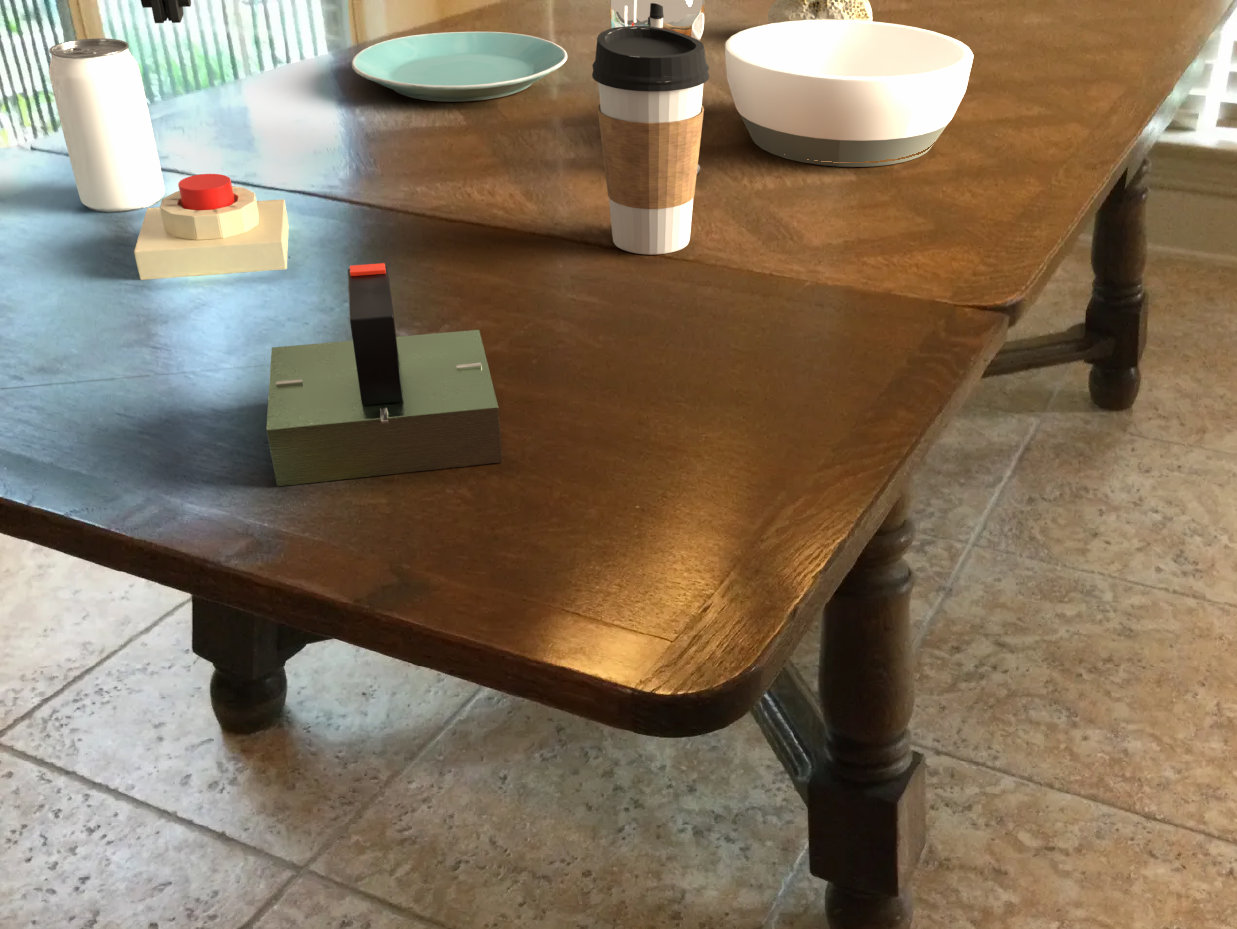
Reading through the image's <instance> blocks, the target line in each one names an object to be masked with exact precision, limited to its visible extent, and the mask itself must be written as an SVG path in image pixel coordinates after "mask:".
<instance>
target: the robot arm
mask: <svg viewBox="0 0 1237 929" xmlns="http://www.w3.org/2000/svg"><path fill="white" fill-rule="evenodd" d="M140 3H141V6H142V8H143V9H147V8H150V9H151V13H152V18H153V21H154V24H164V23H165V22H167V20H168V22H171V23H172V24H181V22H182V20H183V17H184V8H185V7H186V8H188V7H189V8H190V7H191V6H192V0H140Z"/></svg>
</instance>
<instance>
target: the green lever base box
mask: <svg viewBox="0 0 1237 929" xmlns="http://www.w3.org/2000/svg"><path fill="white" fill-rule="evenodd" d="M396 339H397V347H398V356H399V365H400V373H401V382H402V391H403V401H402V402H392V403H381V404H371V405H362V403H361V396H360V388H359V381H358V374H357V367H356V360H355V353H354V346H353V340H343V341H332V342H331V341H330V342H319V343H308V344H296V345H285V346H284V345H283V346H275V347H274V346H273V347H271V350H270V351H271V352H270V353H271V354H270V366H269V367H270V368H269V383H268V399H267V413H266V414H267V415H266V428H265V429H266V430H265V431H266V434H267V436H266V437H267V441H268V447H269V451H270V457H271V462H272V468H273V472H274V478H275V483H276V486H277V487H286V486H296V485H305V484H314V483H323V482H334V481H342V480H343V481H344V480H351V479H359V478H361V479H362V478H371V477H378V476H389V475H398V474H407V473H416V472H426V471H435V470H444V469H454V468H463V467H473V466H482V465H492V464H499V463H503V450H502V437H501V425H500V413H499V404H498V400H497V395H496V391H495V388H494V384H493V380H492V376H491V372H490V367H489V363H488V359H487V355H486V352H485V347H484V342H483V338H482V335H481V331H480V329H471V330H460V331H449V332H438V333H437V332H436V333H426V334H424V333H423V334H413V335H402V336H396Z"/></svg>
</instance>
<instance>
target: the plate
mask: <svg viewBox="0 0 1237 929" xmlns="http://www.w3.org/2000/svg"><path fill="white" fill-rule="evenodd" d="M567 60H568V53H567V51H566V50H565V49H564V48H563V47H562V46H560V45H559V44H557V43H555V42H553V41H550V40H547V39H544V38H541V37H537V36H533V35H528V34H522V33H515V32H514V33H513V32H503V31H451V32H434V33H433V32H432V33H421V34H415V35H414V34H413V35H407V36H401V37H396V38H391V39H388V40H383V41H381V42H377V43H375V44H372V45H369V46H368V47H365V48H363V49H362V50H361V51H359V52H358V53H356V54H355V55H354V56H353V58H352V60H351V67H352V70H353V71H354V72H355V73H356V74H358V75H359V76H360V77H362V78H365V79H366V80H369V81H371V82H374V83H376V84H378V85H380V86H383V87H385V88H388V89H391V90H393V91H394V92H395V93H398V94H400V95H402V96H405V97H408V98H412V99H416V100H423V101H431V102H445V103H447V102H448V103H456V102H459V103H460V102H477V101H478V102H479V101H485V100H486V101H487V100H491V99H498V98H503V97H507V96H511V95H515V94H517V93H520V92H522V91H524V90H527V89H528V88H530V87H531V86H532V85H533V84H534V83H536V82H538V81H540V80H541V79H543V78H545V77H546V76H548V75H549V74H551V73H552V72H555V71H556V70H558V69H559V68H561V67H562V66H563V65H564V64H565V63H566V61H567Z"/></svg>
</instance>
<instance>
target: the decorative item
mask: <svg viewBox="0 0 1237 929" xmlns="http://www.w3.org/2000/svg"><path fill="white" fill-rule="evenodd" d="M802 20H858V21H872V22H873V11H872V7H871V3H870V1H869V0H776V1H774V2H773V3H772V4H771V5H770V6H769V10H768V12H767V23H768V24H773V23H780V22H788V21H802Z"/></svg>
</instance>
